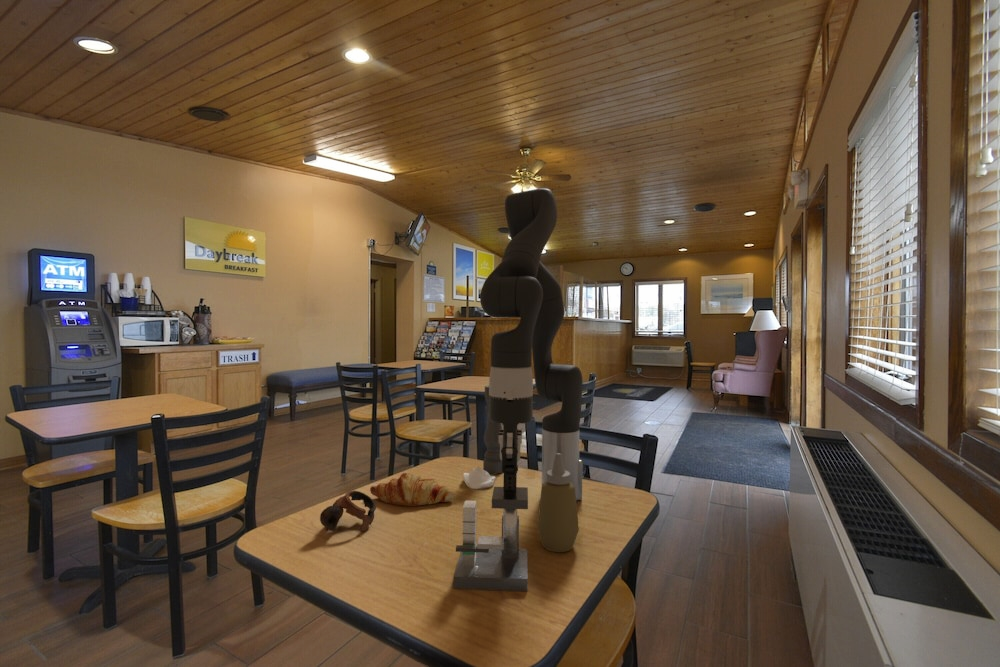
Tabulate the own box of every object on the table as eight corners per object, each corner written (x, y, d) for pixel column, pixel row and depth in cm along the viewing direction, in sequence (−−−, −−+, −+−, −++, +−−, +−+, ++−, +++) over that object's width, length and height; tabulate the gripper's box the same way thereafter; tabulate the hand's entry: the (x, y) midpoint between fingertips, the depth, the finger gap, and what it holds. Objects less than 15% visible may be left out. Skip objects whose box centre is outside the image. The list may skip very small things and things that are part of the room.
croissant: (456, 511, 115) (459, 478, 118) (450, 507, 106) (454, 471, 109) (373, 507, 116) (378, 474, 120) (360, 502, 107) (367, 467, 111)
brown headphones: (344, 516, 104) (362, 485, 104) (369, 545, 99) (388, 512, 99) (301, 522, 94) (322, 488, 94) (327, 554, 89) (348, 518, 89)
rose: (453, 467, 125) (478, 460, 132) (453, 484, 125) (478, 475, 132) (479, 476, 118) (504, 467, 126) (479, 493, 118) (504, 483, 126)
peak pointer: (488, 549, 78) (488, 546, 78) (488, 552, 77) (488, 549, 77) (456, 548, 78) (456, 545, 78) (455, 551, 77) (455, 548, 77)
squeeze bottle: (552, 560, 84) (552, 462, 84) (529, 541, 91) (529, 451, 91) (587, 550, 88) (588, 456, 88) (562, 533, 95) (563, 446, 95)
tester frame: (527, 559, 84) (527, 494, 84) (527, 591, 74) (527, 517, 74) (461, 557, 85) (462, 493, 85) (453, 588, 75) (454, 515, 75)
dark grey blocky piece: (527, 543, 82) (527, 487, 82) (527, 560, 76) (527, 500, 76) (480, 541, 83) (480, 486, 82) (477, 558, 77) (477, 498, 76)
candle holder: (505, 467, 139) (505, 385, 138) (503, 474, 132) (503, 388, 132) (484, 467, 139) (485, 384, 139) (481, 473, 133) (482, 387, 133)
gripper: (491, 387, 86) (491, 479, 86) (485, 398, 73) (485, 507, 73) (532, 388, 85) (531, 481, 86) (533, 399, 72) (532, 509, 72)
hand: (509, 493), depth 79 cm, fingers closed
